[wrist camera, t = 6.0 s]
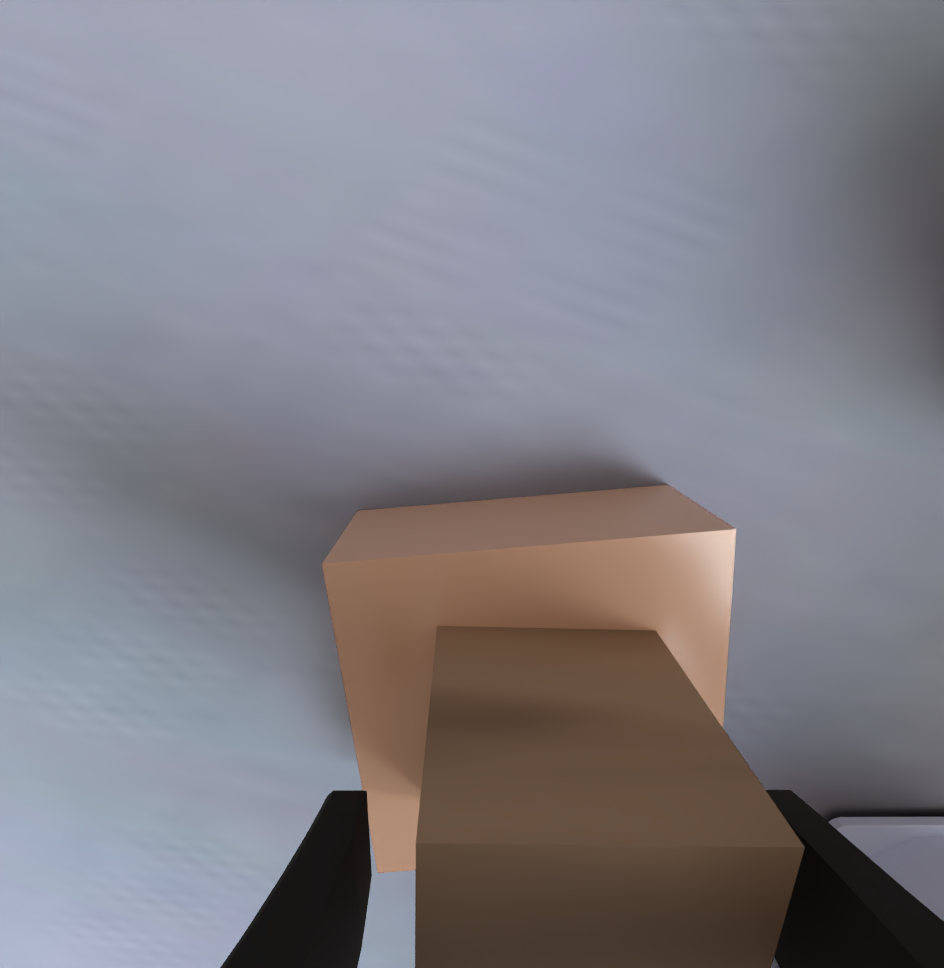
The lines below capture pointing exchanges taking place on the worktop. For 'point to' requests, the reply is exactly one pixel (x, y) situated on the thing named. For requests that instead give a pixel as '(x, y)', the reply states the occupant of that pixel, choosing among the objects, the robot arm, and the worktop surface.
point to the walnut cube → (589, 812)
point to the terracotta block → (510, 608)
